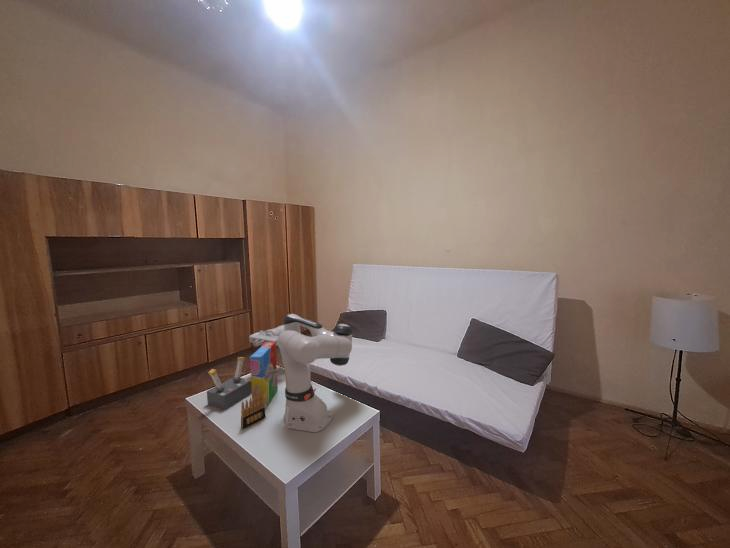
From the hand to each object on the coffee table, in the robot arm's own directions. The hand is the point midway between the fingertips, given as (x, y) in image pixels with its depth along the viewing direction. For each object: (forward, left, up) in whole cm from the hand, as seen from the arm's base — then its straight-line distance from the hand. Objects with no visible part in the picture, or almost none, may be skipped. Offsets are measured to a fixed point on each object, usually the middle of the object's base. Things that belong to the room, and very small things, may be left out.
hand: (255, 344), depth 161 cm
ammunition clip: (-26, +28, -23) cm, 45 cm away
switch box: (0, +18, -23) cm, 29 cm away
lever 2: (0, +14, -15) cm, 21 cm away
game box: (-18, +12, -23) cm, 32 cm away
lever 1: (0, +23, -15) cm, 28 cm away
